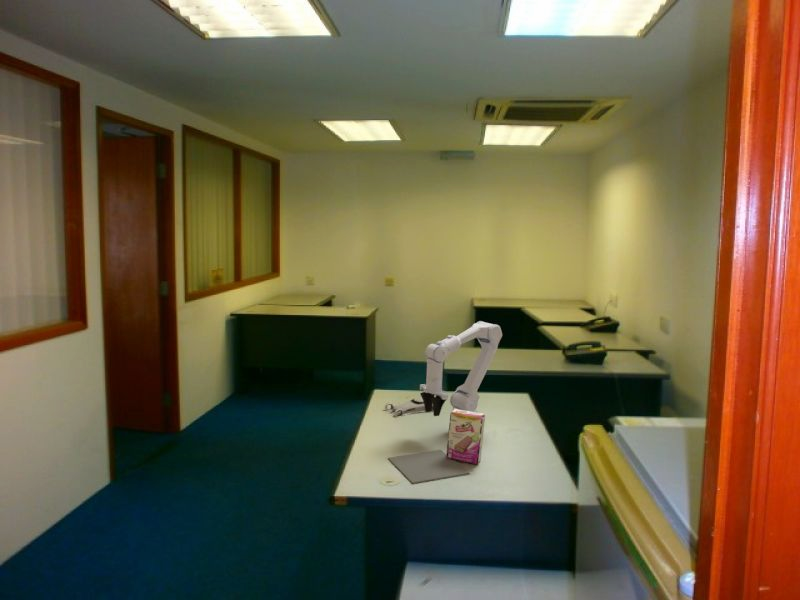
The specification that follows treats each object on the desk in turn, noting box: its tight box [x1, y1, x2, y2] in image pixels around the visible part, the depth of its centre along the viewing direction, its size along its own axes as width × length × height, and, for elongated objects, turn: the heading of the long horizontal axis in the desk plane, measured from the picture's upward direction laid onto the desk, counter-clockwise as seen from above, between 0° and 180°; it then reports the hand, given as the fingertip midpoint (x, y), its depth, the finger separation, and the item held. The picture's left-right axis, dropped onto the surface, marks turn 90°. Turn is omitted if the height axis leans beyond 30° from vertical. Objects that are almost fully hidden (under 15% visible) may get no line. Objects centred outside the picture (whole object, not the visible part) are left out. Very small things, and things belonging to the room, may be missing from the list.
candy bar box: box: [446, 408, 486, 465], centre depth 190 cm, size 11×5×16 cm, turn 71°
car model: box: [384, 396, 433, 418], centre depth 243 cm, size 11×24×5 cm, turn 119°
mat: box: [387, 449, 471, 485], centre depth 186 cm, size 20×20×1 cm
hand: (432, 413), depth 207 cm, fingers open, 4 cm apart
